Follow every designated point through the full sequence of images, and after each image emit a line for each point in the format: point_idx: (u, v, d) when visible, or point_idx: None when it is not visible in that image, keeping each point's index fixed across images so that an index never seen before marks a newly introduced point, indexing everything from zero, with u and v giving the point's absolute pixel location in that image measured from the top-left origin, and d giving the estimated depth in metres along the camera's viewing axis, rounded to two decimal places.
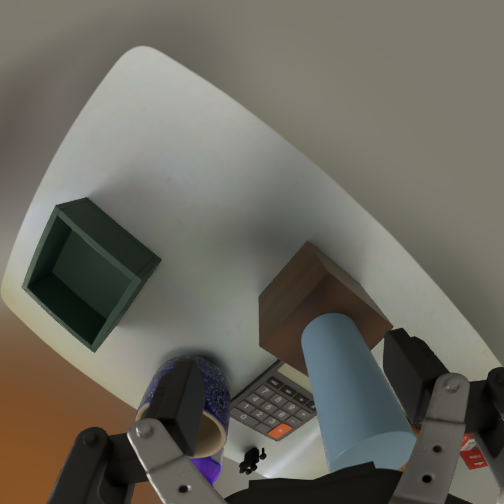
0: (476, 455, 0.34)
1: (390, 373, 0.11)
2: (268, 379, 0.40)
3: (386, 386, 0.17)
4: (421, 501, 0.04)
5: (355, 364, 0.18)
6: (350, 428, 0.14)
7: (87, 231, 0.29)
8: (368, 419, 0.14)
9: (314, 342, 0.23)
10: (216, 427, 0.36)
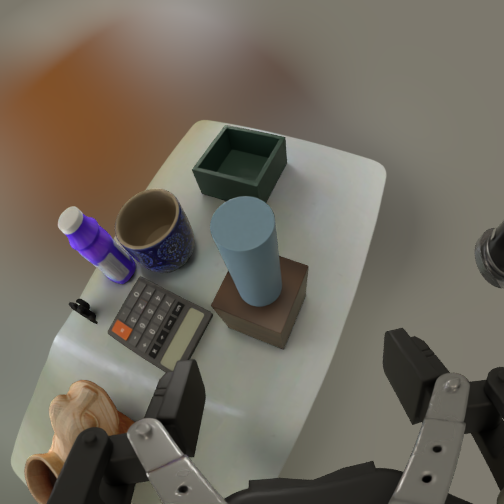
0: None
1: (390, 373, 0.11)
2: (180, 302, 0.48)
3: (276, 254, 0.28)
4: (421, 501, 0.04)
5: None
6: None
7: (275, 156, 0.52)
8: None
9: None
10: None
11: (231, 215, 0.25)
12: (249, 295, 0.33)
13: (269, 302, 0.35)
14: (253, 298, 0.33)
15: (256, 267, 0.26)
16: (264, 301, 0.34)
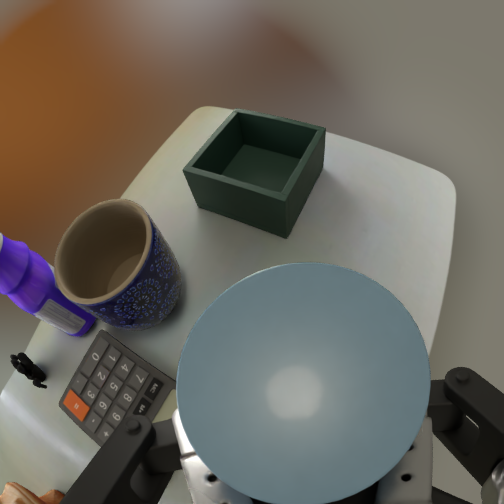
0: None
1: None
2: (157, 379, 0.29)
3: None
4: (421, 501, 0.04)
5: None
6: None
7: (312, 154, 0.33)
8: None
9: None
10: None
11: (261, 347, 0.06)
12: None
13: None
14: None
15: None
16: None
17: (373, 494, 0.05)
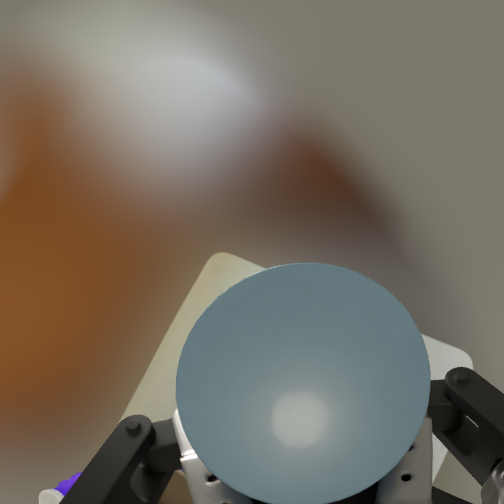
0: None
1: None
2: None
3: None
4: (421, 501, 0.04)
5: None
6: None
7: None
8: None
9: None
10: None
11: (261, 347, 0.06)
12: None
13: None
14: None
15: None
16: None
17: (373, 494, 0.05)
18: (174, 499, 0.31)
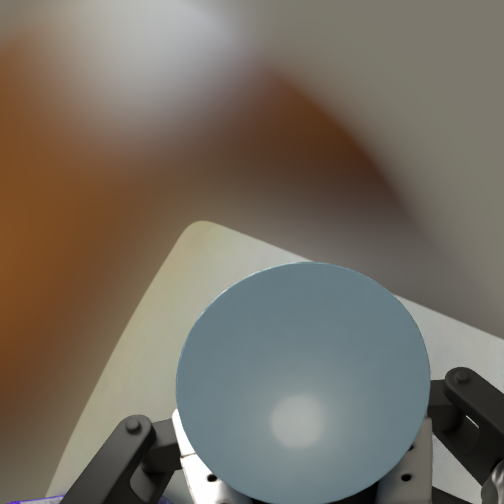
0: None
1: None
2: None
3: None
4: (421, 501, 0.04)
5: None
6: None
7: None
8: None
9: None
10: None
11: (261, 347, 0.06)
12: None
13: None
14: None
15: None
16: None
17: (373, 494, 0.05)
18: None
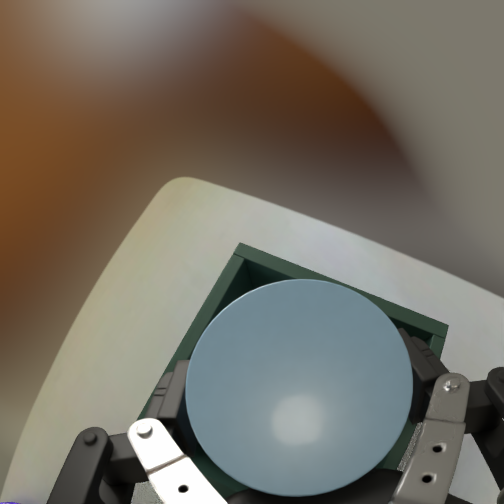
0: None
1: None
2: None
3: None
4: (421, 501, 0.04)
5: None
6: None
7: None
8: None
9: None
10: None
11: (261, 355, 0.07)
12: None
13: None
14: None
15: None
16: None
17: (393, 491, 0.05)
18: None
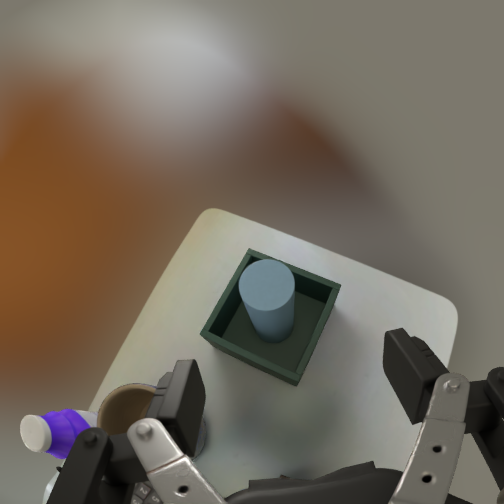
0: None
1: (390, 373, 0.11)
2: None
3: (292, 307, 0.32)
4: (421, 501, 0.04)
5: None
6: None
7: (326, 321, 0.35)
8: None
9: None
10: None
11: (257, 277, 0.29)
12: (265, 336, 0.37)
13: (282, 340, 0.39)
14: (269, 338, 0.37)
15: (276, 319, 0.30)
16: (278, 340, 0.38)
17: (393, 490, 0.05)
18: None
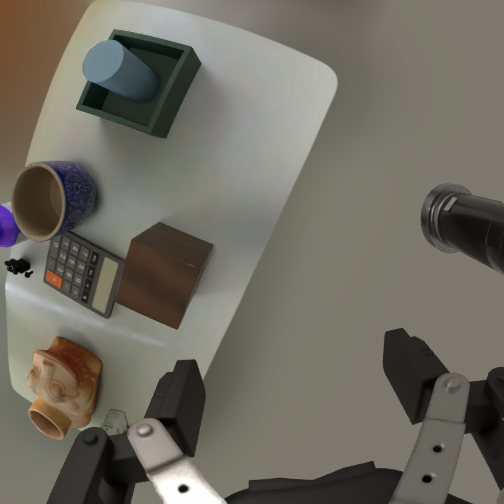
0: None
1: (390, 373, 0.11)
2: (95, 252, 0.46)
3: (135, 72, 0.29)
4: (421, 501, 0.04)
5: (142, 65, 0.31)
6: None
7: (176, 79, 0.34)
8: (125, 49, 0.26)
9: None
10: (43, 227, 0.39)
11: (95, 56, 0.25)
12: (129, 98, 0.36)
13: (149, 99, 0.39)
14: (134, 99, 0.37)
15: (119, 85, 0.29)
16: (144, 99, 0.38)
17: (393, 490, 0.05)
18: None
